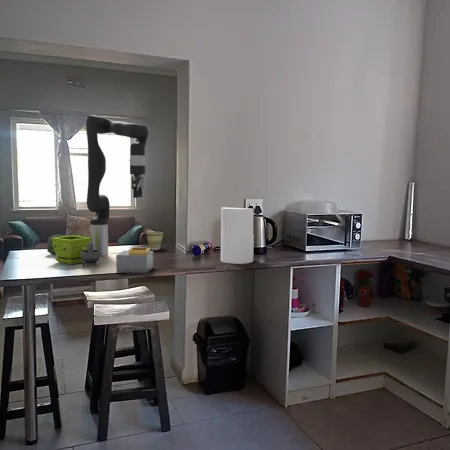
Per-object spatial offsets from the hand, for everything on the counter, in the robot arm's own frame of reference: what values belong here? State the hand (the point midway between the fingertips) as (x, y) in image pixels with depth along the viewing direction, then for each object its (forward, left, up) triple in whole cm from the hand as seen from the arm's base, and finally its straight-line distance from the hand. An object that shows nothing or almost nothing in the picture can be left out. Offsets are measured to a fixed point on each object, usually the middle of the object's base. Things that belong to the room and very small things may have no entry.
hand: (137, 197), depth 224 cm
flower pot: (-33, -3, -33) cm, 47 cm away
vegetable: (-48, +18, -33) cm, 62 cm away
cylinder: (+50, +12, -33) cm, 61 cm away
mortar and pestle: (-21, -10, -33) cm, 41 cm away
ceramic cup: (0, +45, -33) cm, 56 cm away
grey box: (+3, -18, -33) cm, 38 cm away
